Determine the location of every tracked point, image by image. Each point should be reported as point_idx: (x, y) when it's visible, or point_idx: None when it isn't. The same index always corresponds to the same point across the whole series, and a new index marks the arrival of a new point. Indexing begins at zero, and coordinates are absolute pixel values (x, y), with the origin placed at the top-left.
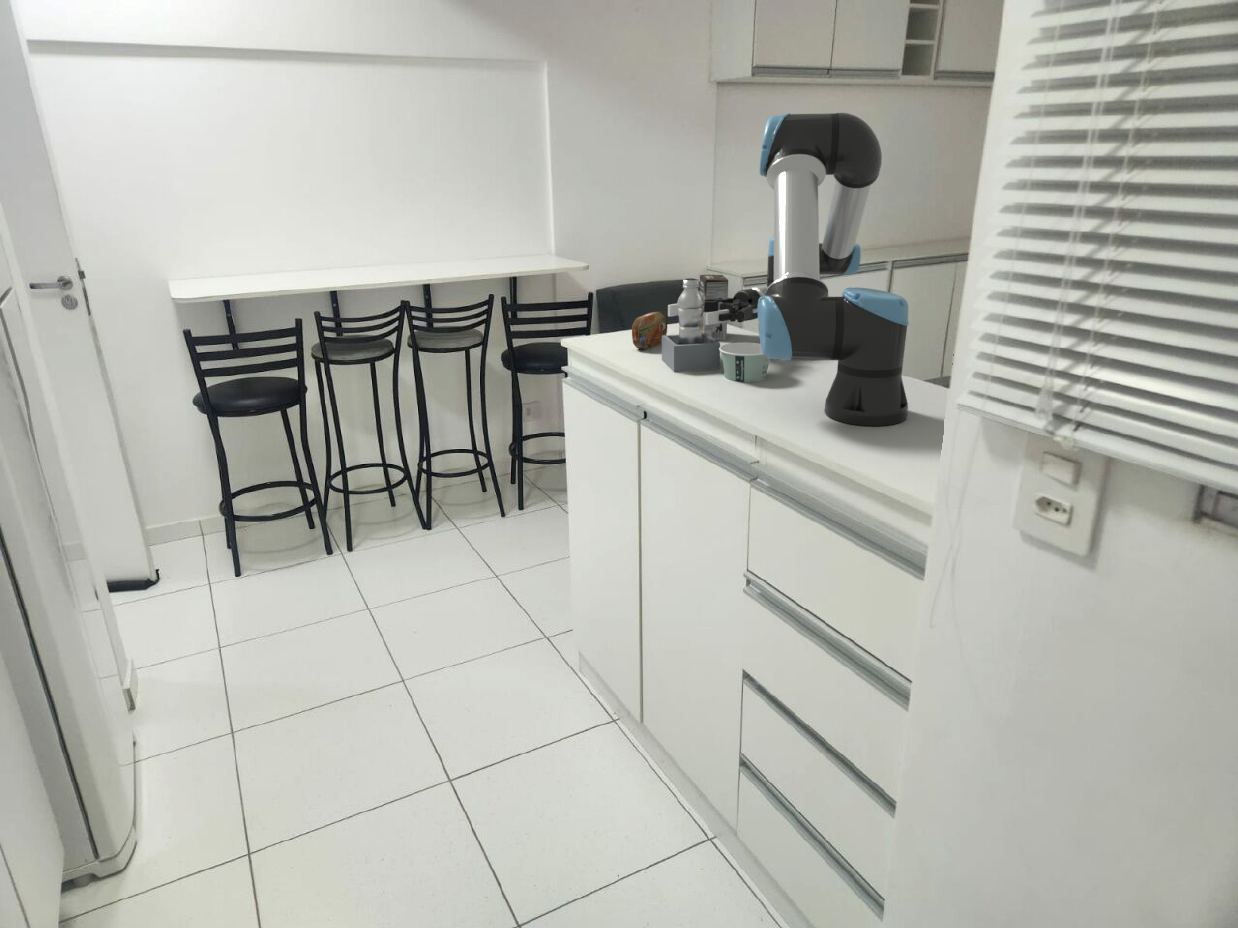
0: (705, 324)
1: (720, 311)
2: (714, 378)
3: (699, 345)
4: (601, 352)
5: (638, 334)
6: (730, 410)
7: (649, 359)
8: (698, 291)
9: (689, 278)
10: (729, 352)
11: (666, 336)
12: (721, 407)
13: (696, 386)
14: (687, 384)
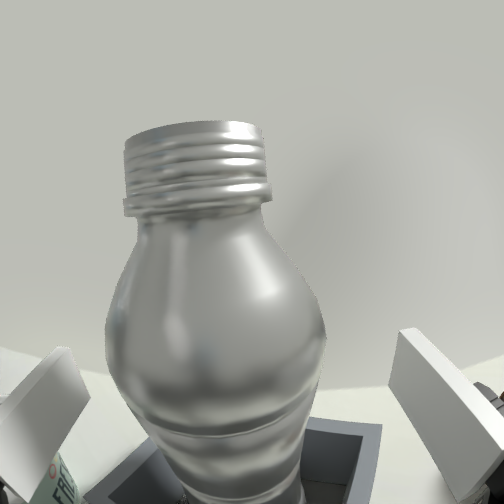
0: (88, 395)
1: (6, 398)
2: (87, 457)
3: (140, 447)
4: (478, 372)
5: (499, 397)
6: (21, 356)
7: (385, 449)
8: (132, 252)
9: (250, 127)
10: (49, 486)
11: (356, 432)
12: (32, 358)
13: (94, 402)
14: (116, 402)
